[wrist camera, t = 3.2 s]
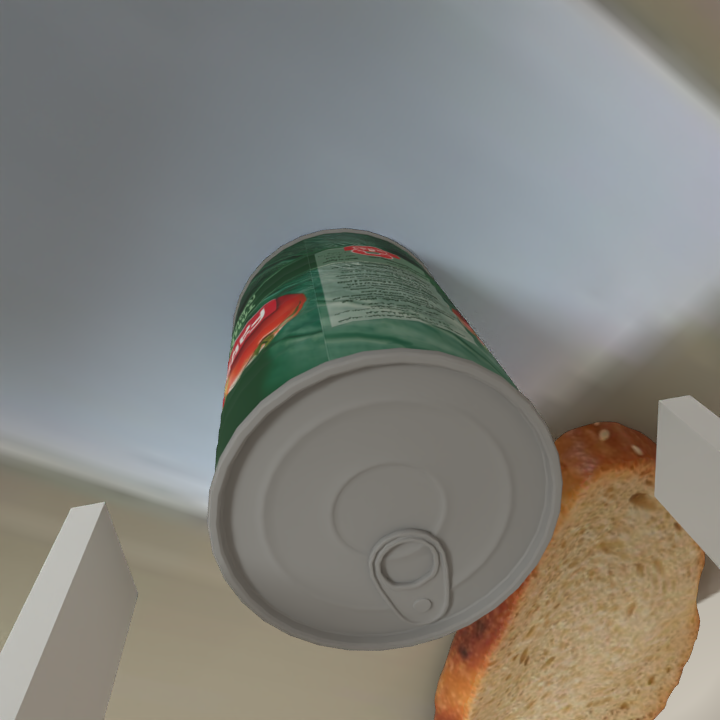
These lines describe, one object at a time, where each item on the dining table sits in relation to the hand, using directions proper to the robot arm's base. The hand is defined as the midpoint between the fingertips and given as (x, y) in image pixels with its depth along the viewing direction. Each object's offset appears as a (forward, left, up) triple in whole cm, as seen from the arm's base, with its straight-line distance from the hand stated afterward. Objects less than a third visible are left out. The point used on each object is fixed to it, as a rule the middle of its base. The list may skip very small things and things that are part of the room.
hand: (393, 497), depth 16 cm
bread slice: (+7, -16, -11) cm, 21 cm away
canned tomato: (0, 0, -10) cm, 10 cm away
